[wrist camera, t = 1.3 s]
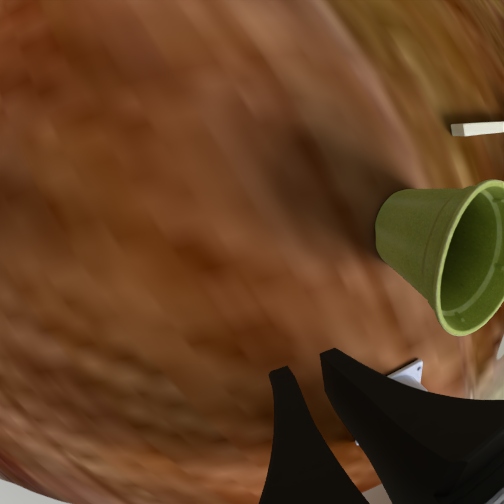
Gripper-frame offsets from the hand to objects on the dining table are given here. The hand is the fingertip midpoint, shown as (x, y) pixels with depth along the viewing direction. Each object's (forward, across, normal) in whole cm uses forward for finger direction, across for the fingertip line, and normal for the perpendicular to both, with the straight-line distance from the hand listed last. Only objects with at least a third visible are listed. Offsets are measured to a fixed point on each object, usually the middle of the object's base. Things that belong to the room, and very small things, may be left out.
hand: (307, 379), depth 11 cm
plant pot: (+11, -12, 0) cm, 16 cm away
